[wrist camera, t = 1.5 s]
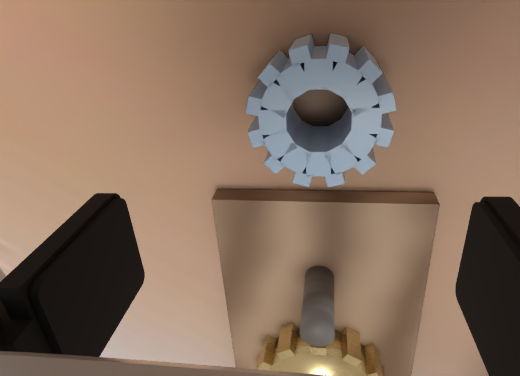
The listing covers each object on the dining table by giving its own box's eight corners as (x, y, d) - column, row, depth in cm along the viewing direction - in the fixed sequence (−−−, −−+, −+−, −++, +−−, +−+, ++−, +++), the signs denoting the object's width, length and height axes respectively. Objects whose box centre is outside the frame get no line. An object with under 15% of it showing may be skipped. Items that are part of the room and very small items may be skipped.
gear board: (433, 192, 24) (464, 257, 19) (399, 410, 34) (412, 495, 29) (217, 188, 27) (186, 245, 21) (245, 393, 37) (229, 468, 31)
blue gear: (391, 29, 20) (403, 40, 17) (380, 157, 24) (389, 188, 20) (254, 37, 22) (239, 48, 18) (263, 157, 25) (252, 186, 22)
